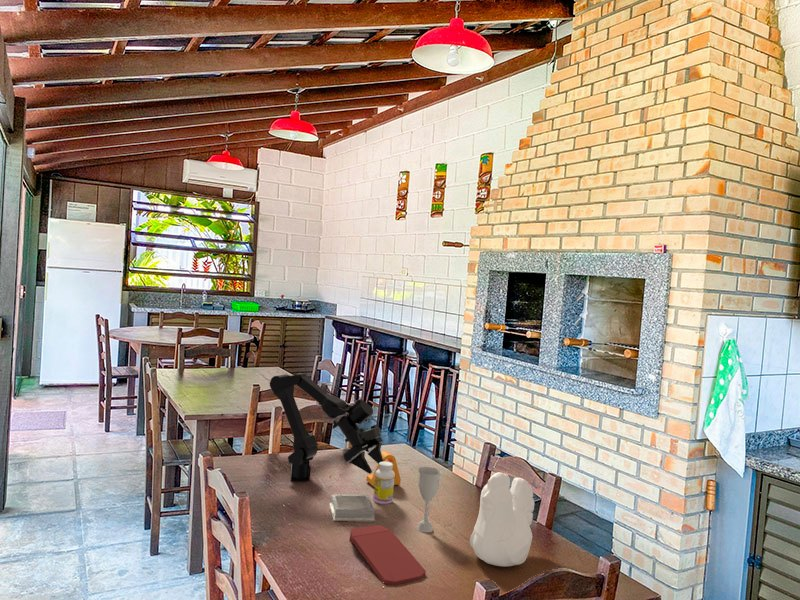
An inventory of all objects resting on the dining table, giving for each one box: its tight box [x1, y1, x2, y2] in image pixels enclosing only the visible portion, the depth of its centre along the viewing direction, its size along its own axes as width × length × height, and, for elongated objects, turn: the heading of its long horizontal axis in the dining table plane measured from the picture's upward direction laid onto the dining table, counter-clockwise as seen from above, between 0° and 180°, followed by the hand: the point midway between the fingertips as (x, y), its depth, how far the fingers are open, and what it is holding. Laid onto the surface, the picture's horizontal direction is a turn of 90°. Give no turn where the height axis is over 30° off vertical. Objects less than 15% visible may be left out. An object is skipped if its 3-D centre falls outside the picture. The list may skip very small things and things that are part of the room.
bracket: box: [366, 450, 402, 488], centre depth 213 cm, size 11×7×12 cm, turn 116°
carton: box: [349, 524, 427, 585], centre depth 156 cm, size 12×5×25 cm
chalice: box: [416, 466, 443, 533], centre depth 177 cm, size 7×7×18 cm
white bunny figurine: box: [469, 471, 535, 567], centre depth 163 cm, size 25×16×25 cm, turn 126°
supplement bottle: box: [372, 461, 395, 505], centre depth 197 cm, size 7×7×13 cm
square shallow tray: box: [328, 493, 376, 522], centre depth 185 cm, size 13×13×4 cm
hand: (377, 469), depth 198 cm, fingers open, 9 cm apart
